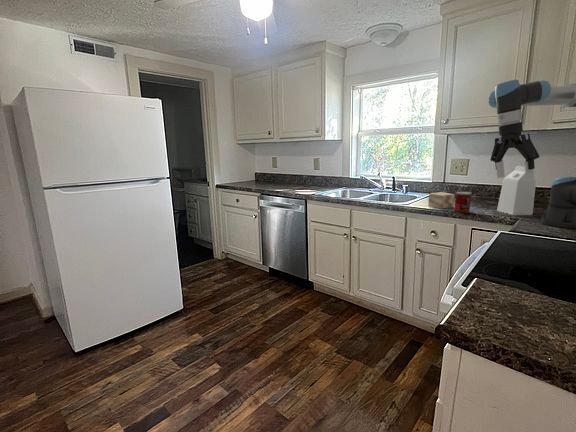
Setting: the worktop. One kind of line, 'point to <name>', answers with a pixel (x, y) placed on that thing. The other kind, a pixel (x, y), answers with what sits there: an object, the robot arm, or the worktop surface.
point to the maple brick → (441, 200)
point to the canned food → (462, 202)
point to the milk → (517, 193)
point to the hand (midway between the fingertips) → (514, 177)
